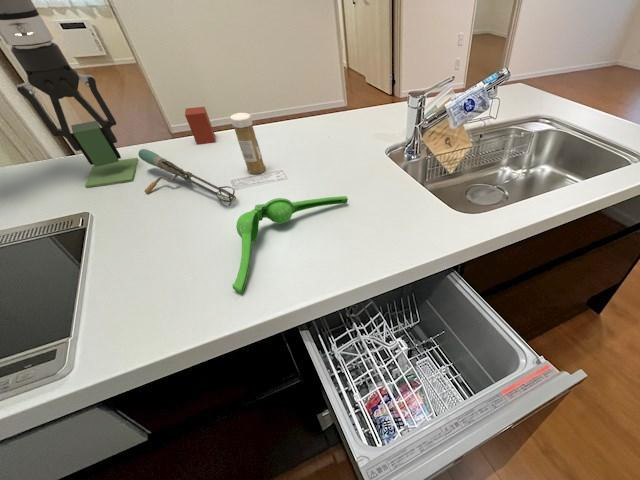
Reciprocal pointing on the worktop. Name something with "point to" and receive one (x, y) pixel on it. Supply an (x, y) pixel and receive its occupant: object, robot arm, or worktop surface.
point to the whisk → (172, 168)
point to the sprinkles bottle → (248, 142)
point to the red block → (200, 125)
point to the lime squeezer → (278, 213)
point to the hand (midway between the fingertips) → (105, 159)
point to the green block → (94, 143)
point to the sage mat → (112, 173)
